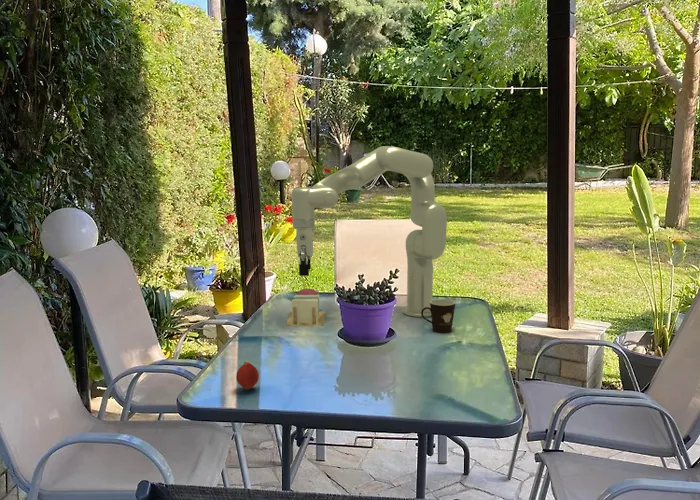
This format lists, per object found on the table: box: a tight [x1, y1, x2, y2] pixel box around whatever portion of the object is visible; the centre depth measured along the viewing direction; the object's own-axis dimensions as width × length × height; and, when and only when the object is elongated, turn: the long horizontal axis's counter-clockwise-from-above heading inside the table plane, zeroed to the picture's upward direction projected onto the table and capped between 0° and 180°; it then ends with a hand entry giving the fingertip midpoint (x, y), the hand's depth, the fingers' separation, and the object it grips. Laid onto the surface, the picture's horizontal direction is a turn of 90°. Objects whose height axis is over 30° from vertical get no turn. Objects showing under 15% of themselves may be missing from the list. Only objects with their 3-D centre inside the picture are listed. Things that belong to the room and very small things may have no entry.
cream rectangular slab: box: [291, 298, 318, 323], centre depth 225 cm, size 9×3×8 cm, turn 91°
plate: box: [293, 294, 321, 315], centre depth 235 cm, size 9×3×7 cm, turn 90°
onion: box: [236, 360, 259, 391], centre depth 169 cm, size 6×6×8 cm
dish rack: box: [285, 307, 326, 326], centre depth 230 cm, size 13×17×8 cm
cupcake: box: [295, 276, 319, 295], centre depth 251 cm, size 9×8×12 cm
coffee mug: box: [421, 298, 456, 334], centre depth 220 cm, size 12×9×10 cm
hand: (305, 272), depth 222 cm, fingers open, 9 cm apart
